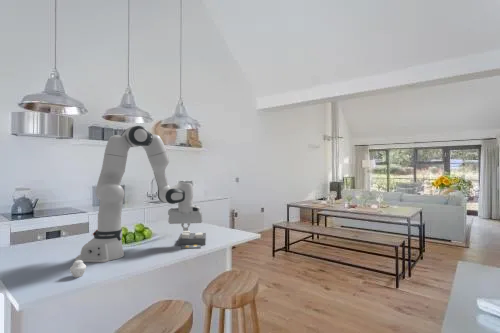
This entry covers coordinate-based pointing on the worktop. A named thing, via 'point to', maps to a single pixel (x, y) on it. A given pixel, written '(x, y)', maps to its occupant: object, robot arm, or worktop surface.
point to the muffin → (78, 268)
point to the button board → (192, 240)
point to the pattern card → (190, 246)
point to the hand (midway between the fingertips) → (185, 230)
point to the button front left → (185, 235)
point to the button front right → (198, 235)
